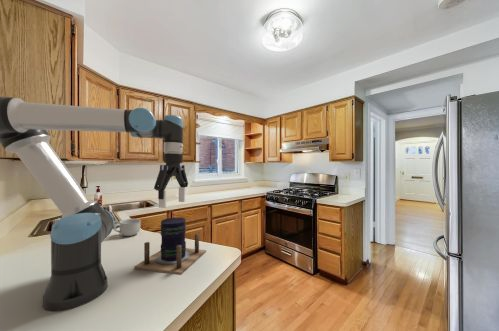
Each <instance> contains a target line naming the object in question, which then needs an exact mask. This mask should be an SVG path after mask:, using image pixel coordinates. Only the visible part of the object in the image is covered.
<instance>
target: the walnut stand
mask: <svg viewBox="0 0 499 331" xmlns="http://www.w3.org/2000/svg"><path fill="white" fill-rule="evenodd" d="M150 244H151V243H150V242H149V241H146V242H144V253H143V254H144V255H143V256H144V260H143V261H141V262H139V263H138V264H136V265H134V270H138V271H149V272H157V273H158V272H159V273H167V274H175V275H183V274H184V273H185V272H186V271H187V270H189V268H190V267H191V266H192V265H193V264H195V263H196V262H197V261H198V260H199V259H200V258H201V257H203V256H204V254H206V253H207V250H206V249H200V234H199V233H197V232H196V233H194V248H187V247H186V251H185V253H186V255H185V257H184V258H182V246H181V245H178V246H177V253H176V261H172V262H167V261H163V260H161V249H159V250H158V251H157V252H155V253H153V254H152V255H151V256H150V249H151V248H150Z"/></svg>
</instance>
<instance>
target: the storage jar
mask: <svg viewBox="0 0 499 331" xmlns="http://www.w3.org/2000/svg"><path fill="white" fill-rule="evenodd" d="M186 229H187V227H186V218H184V217H170V218H169V217H168V218H165V219H162V220H161V221H160V236H161V243H160V250H161V260H163V261H167V262H172V261H176V253H177V246H178V245H181V246H182V258H184V257H185V255H186V253H185V251H186V248H187V247H186V246H187V243H186V242H187V241H186V232H187V230H186Z"/></svg>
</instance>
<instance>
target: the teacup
mask: <svg viewBox="0 0 499 331" xmlns="http://www.w3.org/2000/svg"><path fill="white" fill-rule="evenodd" d="M119 222H120V224H116V225H115V226H114V227H113V230H114V231H115V232H116V233H119V235H120V234H121V235H123V237H133V236H135V235H137V233H139V232H140V231H141V223H142V220H141V219H140V218H126V219H122V220H120V221H119ZM117 227H119V229H117Z"/></svg>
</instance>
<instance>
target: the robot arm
mask: <svg viewBox="0 0 499 331" xmlns="http://www.w3.org/2000/svg"><path fill="white" fill-rule="evenodd" d="M48 131H69V132H70V131H76V132H77V131H78V132H79V131H80V132H107V133H129V134H130V136H131V137H133V138H140V139H143V138H144V139H160V140H161V139H163V163H164V164H160V165H159V172H158V174H157V177H156V181H155V183H154V188H153V190H155V191H157V198H158V208H161V209H166V208H167V190H166V188H167V186H168V185H169V182H170V180H171V178H173V177H175V180H176V181H177V183H178V185H179V187H178V202H179V203H180V202H181V203H184V202H186V188H187V187H188V186H189V182H188V177H187V174H186V168H185V165H184V164H182V163H183V161H184V157H183V156H184V155H183V154H182V153H183V151H184V148H183V147H184V144H183V143H184V121H183V117H181V116H179V115H174V114H166V115H164V117H163V119H156V117H155V114H153V113H152V111H151V110H149V109H148V108H145V107H136V108H135V109H134V108H133V109H123V108H111V107H110V108H108V107H107V108H106V107H97V106H94V107H92V106H83V105H82V106H81V105H79V106H78V105H66V104H53V103H41V102H38V103H37V102H27V101H24V99H21V98H19V97H12V96H11V97H10V96H9V97H8V96H0V146H2V148H3V149H4V150H5V152H8V153H12V154H16V156H18V158H19V159H20V161H21V162H22V163H23V164H24V166H25V167H26V168H27V170H28V171H29V172H30V174H31V176H33V177H34V179H35V180H36V181H37V183H38V185H39V186H41V188H42V189H43V191H45V193H46V194H47V196H48V197H49V199H50V200H51V201H52V202H53V204H54V205H55V206H56V207H57V208H58V210H59V211H60V213H61V214H62V215H61V218H59V219H57V220H55V221H54V223H53V224H52V226H51V231H50V235H49V237H50V262H51V263H50V268H51V269H50V270H51V271H50V277H49V280H48V283H47V286H46V288H45V291H44V293H43V295H42V300H41V301H42V303H41V304H42V305H41V306H42V308H43V309H44V310H45V309H47V310H46V311H49V310H54V311H53V312H56V311H55V310H60V311H65V310H70V309H73V308H74V309H75V308H77V307H80V306H83V305H85V304H87V303H89V302H91V301H93V300H95V299H97V298H99V297H100V296H101V295H103V294H104V292H106V290H107V289H108V282H109V281H108V280H109V279H108V277H107V274H106V271H105V269H104V267H103V265H102V243H103V242H104V240H105V239H107V238H108V237H109V235H110V234H111V232H112V231H113V229H114V227H113V226H114V223H115V220H114V219H115V218H114V216H113V215H112V213H111V212H109V211H108V210H107V209H104V208H102V206H101V204H100V203H99V201H98V200H92V199H90V198H89V197H88V195H87V193H86V192H85V191H84V190H83V188H82V187H81V185H80V183H78V181H77V180H76V179H75V177H74V176H73V174H72V173H71V172H70V170H69V168H67V166H66V165H65V163H64V162H63V161H62V160H61V158H60V156H59V155H58V153H56V151H55V150H54V148H53V147H52V145H51V144H50V142H51V139H52V137H51V135H50V133H49V132H48Z"/></svg>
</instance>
